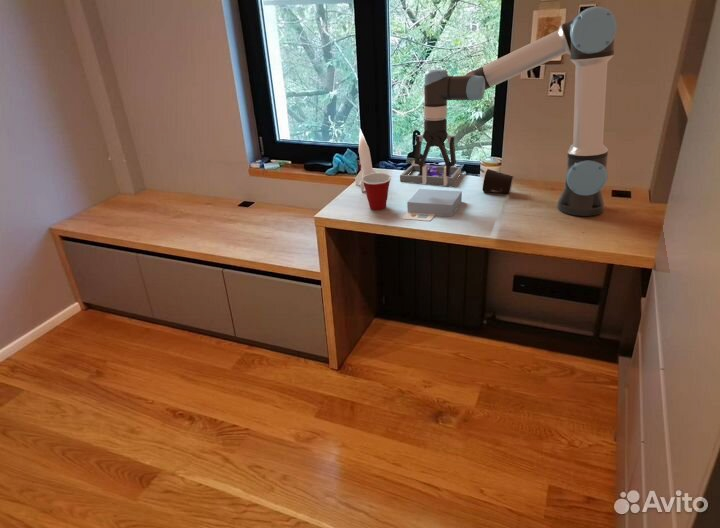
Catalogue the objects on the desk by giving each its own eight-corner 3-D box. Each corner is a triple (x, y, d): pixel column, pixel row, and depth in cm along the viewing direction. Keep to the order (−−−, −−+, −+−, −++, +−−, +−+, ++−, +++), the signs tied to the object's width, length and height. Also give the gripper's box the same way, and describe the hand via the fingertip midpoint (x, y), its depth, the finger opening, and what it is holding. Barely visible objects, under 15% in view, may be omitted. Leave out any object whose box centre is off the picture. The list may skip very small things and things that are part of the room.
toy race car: (452, 185, 214) (452, 170, 211) (416, 183, 219) (416, 168, 216) (456, 179, 222) (457, 164, 219) (422, 177, 227) (422, 162, 224)
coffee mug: (512, 176, 193) (485, 171, 196) (507, 198, 197) (481, 193, 200) (516, 169, 203) (490, 165, 206) (512, 190, 207) (487, 186, 210)
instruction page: (435, 214, 183) (435, 213, 183) (430, 221, 177) (430, 220, 177) (408, 212, 186) (407, 211, 186) (402, 218, 181) (402, 218, 181)
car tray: (461, 176, 224) (461, 167, 222) (452, 187, 210) (452, 178, 208) (411, 173, 232) (411, 165, 230) (400, 184, 218) (399, 175, 216)
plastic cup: (359, 213, 189) (357, 180, 184) (367, 203, 198) (365, 172, 193) (389, 214, 186) (388, 181, 181) (395, 204, 195) (394, 173, 190)
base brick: (461, 201, 194) (461, 191, 192) (452, 216, 180) (452, 205, 179) (419, 198, 199) (419, 188, 198) (407, 212, 186) (407, 202, 184)
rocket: (356, 187, 216) (345, 128, 206) (377, 181, 218) (368, 123, 207) (361, 193, 208) (350, 132, 197) (384, 187, 209) (374, 127, 198)
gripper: (467, 116, 176) (464, 182, 186) (410, 116, 183) (411, 179, 193) (462, 120, 170) (460, 188, 180) (404, 120, 177) (405, 185, 187)
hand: (434, 184), depth 186 cm, fingers open, 7 cm apart
